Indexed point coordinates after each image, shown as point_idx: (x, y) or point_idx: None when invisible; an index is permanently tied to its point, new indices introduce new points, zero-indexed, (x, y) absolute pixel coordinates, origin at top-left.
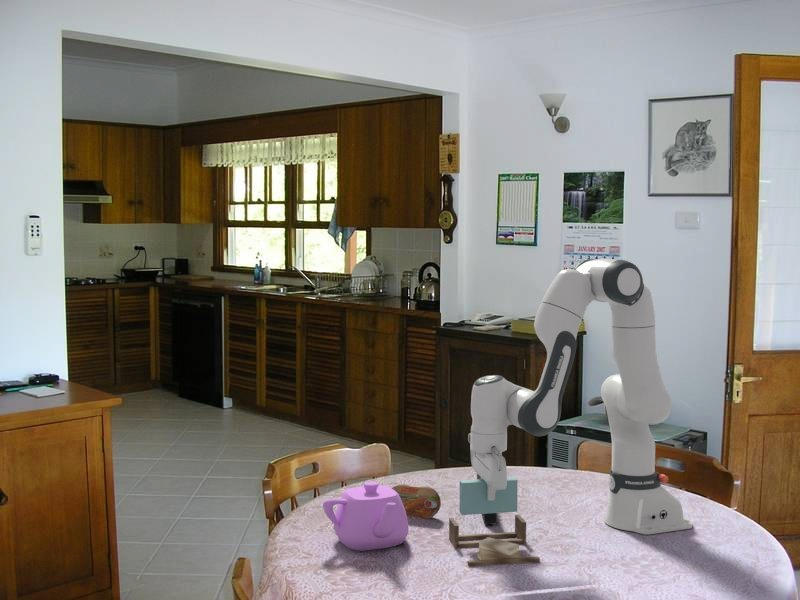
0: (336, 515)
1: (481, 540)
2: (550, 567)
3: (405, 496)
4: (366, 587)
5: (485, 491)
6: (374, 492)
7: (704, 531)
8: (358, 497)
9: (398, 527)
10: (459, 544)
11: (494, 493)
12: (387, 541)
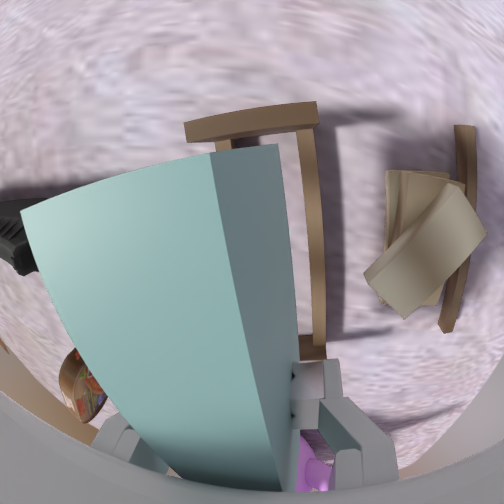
0: None
1: (396, 311)
2: (478, 105)
3: (89, 401)
4: (431, 434)
5: (292, 436)
6: None
7: None
8: None
9: (298, 460)
10: (325, 342)
11: (343, 398)
12: (311, 449)
